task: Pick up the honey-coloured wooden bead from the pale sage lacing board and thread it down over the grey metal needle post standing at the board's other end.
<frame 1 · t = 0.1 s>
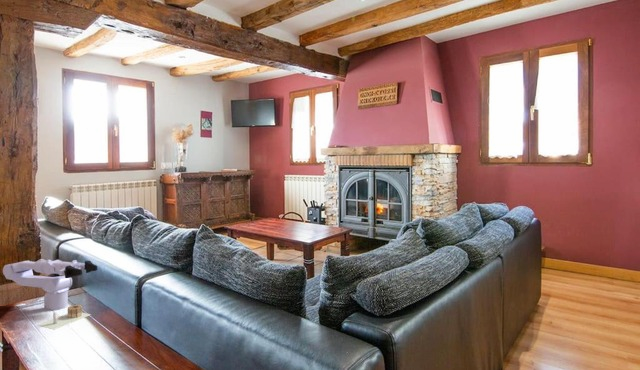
hand: (89, 270, 173), 21 cm above the table, tool horizontal, fingers open, 7 cm apart
lacing board: (65, 322, 168), on the table
bead: (74, 315, 172), point 1 cm above the table, touching lacing board
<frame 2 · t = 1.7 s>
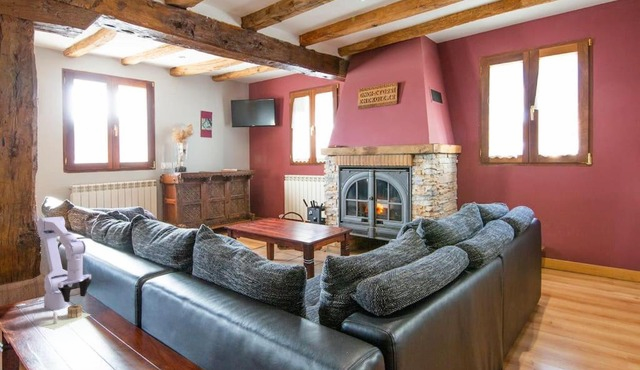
hand: (74, 298, 171), 9 cm above the table, tool pointing down, fingers open, 7 cm apart
nothing on the table moved.
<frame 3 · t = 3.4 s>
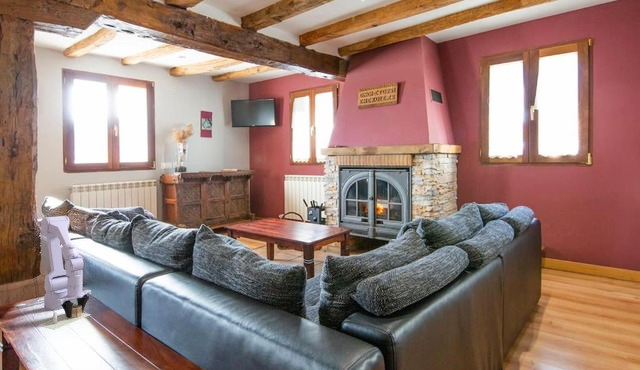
hand: (74, 314, 172), 2 cm above the table, tool pointing down, fingers closed on bead, 5 cm apart
bead: (74, 315, 172), point 1 cm above the table, touching gripper, lacing board
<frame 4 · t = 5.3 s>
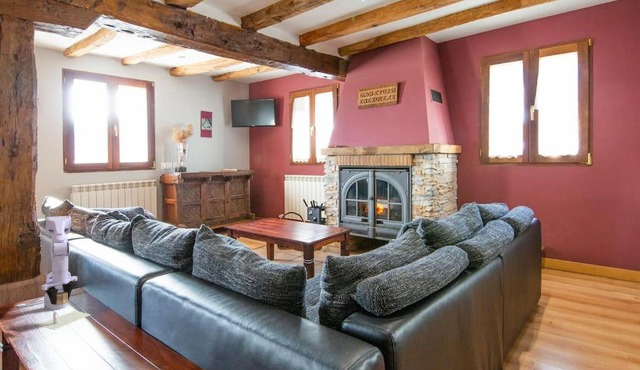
hand: (60, 301, 165), 10 cm above the table, tool pointing down, fingers closed on bead, 5 cm apart
bead: (60, 302, 165), point 9 cm above the table, touching gripper
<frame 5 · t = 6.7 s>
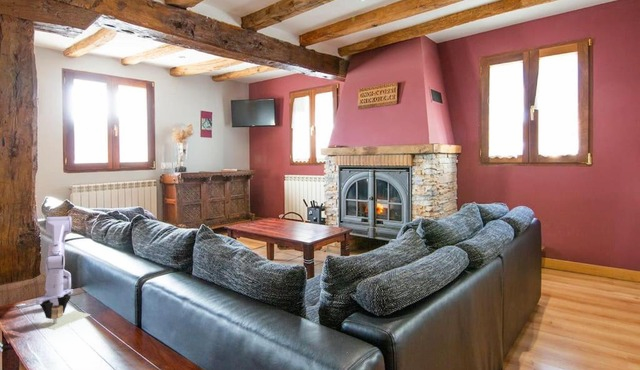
hand: (55, 315, 163), 5 cm above the table, tool pointing down, fingers closed on bead, 5 cm apart
bead: (55, 316, 163), point 4 cm above the table, touching gripper
when the fingers open (5 cm above the table, at t = 7.7 s): bead drops 3 cm, resting on lacing board.
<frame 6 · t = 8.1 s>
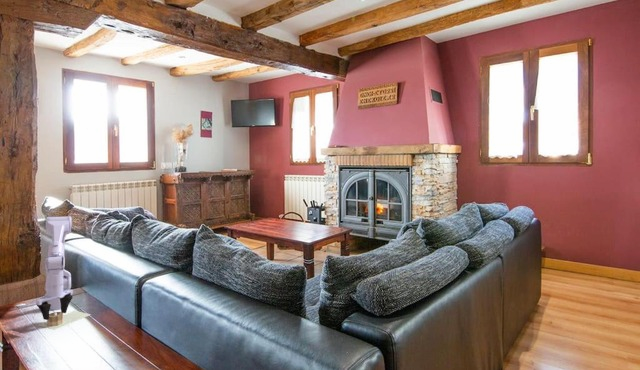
hand: (55, 315, 163), 5 cm above the table, tool pointing down, fingers open, 7 cm apart
bead: (55, 323, 163), point 1 cm above the table, touching lacing board
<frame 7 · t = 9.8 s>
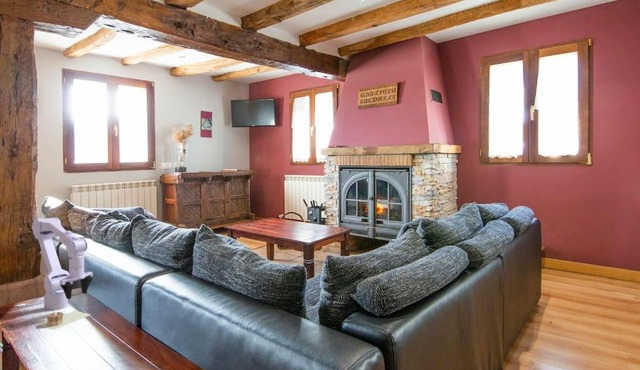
hand: (76, 295, 174), 9 cm above the table, tool pointing down, fingers open, 7 cm apart
nothing on the table moved.
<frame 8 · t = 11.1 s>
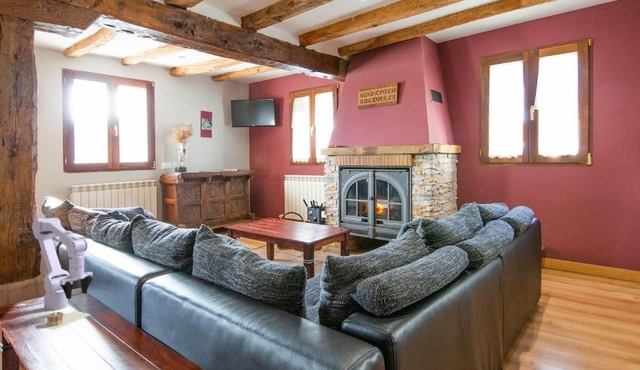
hand: (76, 295, 174), 9 cm above the table, tool pointing down, fingers open, 7 cm apart
nothing on the table moved.
at the end: bead 0.1 cm from the target spot, point 1.2 cm above the table; the gripper is holding nothing; bead tilted 0° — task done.
